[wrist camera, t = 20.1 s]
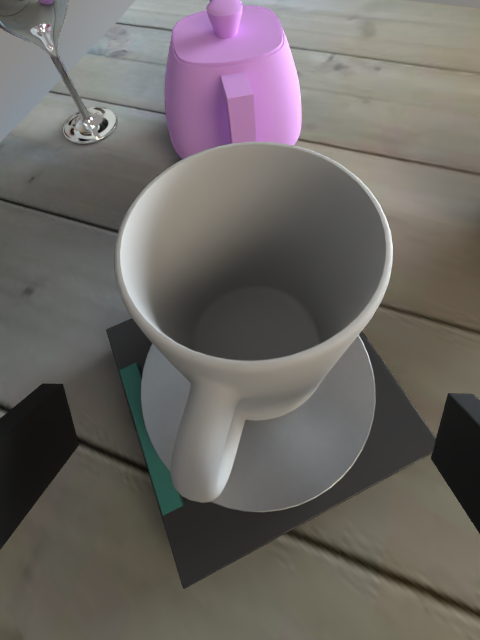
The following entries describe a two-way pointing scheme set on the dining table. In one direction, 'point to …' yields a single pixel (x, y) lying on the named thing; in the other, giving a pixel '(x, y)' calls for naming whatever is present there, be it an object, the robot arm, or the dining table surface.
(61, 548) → the dining table surface
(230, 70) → the teapot
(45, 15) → the wineglass
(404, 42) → the dining table surface
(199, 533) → the scale
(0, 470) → the robot arm
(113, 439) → the dining table surface
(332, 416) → the scale pan
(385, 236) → the mug
